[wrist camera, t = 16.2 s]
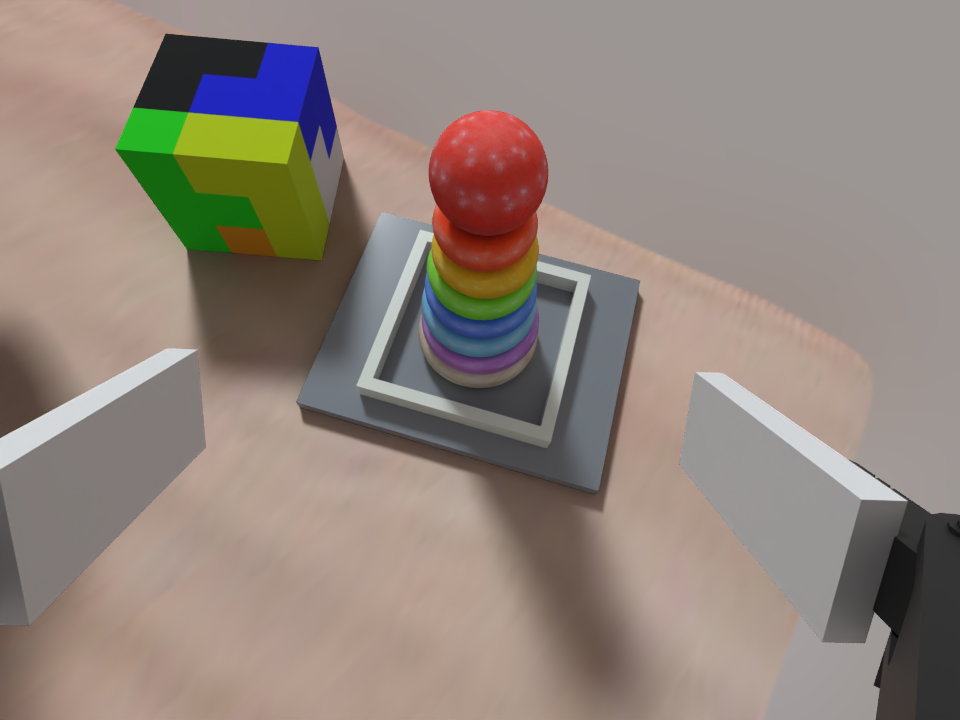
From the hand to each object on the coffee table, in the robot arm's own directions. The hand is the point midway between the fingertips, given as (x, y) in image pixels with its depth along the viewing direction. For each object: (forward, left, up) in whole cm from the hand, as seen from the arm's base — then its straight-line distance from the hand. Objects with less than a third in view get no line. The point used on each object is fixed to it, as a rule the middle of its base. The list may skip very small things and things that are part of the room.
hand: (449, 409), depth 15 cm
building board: (-2, +13, -22) cm, 25 cm away
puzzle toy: (-21, +20, -22) cm, 36 cm away
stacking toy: (-2, +12, -21) cm, 24 cm away
